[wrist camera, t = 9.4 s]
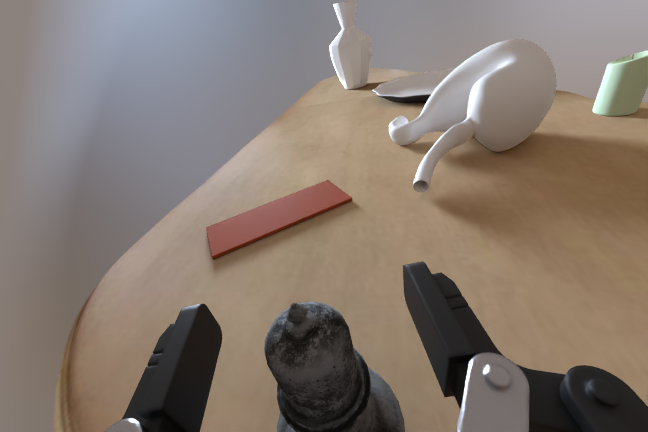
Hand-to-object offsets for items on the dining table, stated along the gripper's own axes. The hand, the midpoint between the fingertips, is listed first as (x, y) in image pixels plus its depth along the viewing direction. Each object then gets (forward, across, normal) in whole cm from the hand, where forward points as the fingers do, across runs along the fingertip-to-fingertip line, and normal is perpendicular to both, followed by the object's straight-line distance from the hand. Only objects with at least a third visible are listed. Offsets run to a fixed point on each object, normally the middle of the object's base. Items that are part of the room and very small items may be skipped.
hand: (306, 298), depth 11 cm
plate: (+73, -34, +10) cm, 81 cm away
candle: (+34, -48, +10) cm, 59 cm away
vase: (+102, -19, +10) cm, 105 cm away
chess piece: (-2, 0, +10) cm, 10 cm away
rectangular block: (+23, +5, +10) cm, 26 cm away
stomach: (+31, -24, +10) cm, 41 cm away
